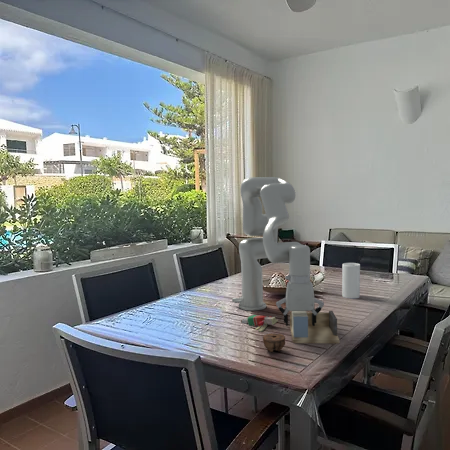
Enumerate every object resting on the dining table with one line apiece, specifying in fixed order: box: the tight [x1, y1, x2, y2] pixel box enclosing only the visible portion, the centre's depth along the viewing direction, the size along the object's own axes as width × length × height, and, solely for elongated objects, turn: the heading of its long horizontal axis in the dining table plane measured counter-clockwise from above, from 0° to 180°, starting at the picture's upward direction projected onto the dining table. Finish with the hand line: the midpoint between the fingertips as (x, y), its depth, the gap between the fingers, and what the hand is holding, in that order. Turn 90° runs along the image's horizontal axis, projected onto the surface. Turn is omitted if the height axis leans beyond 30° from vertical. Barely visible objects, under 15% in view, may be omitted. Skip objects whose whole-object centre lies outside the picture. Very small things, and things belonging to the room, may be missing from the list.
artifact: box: [262, 333, 286, 353], centre depth 143 cm, size 8×8×5 cm
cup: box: [341, 262, 361, 300], centre depth 208 cm, size 8×8×16 cm
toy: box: [240, 314, 279, 333], centre depth 171 cm, size 15×4×15 cm
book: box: [291, 311, 308, 337], centre depth 156 cm, size 5×9×8 cm, turn 175°
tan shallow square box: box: [289, 310, 340, 345], centre depth 157 cm, size 16×16×7 cm
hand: (299, 324), depth 156 cm, fingers open, 9 cm apart
